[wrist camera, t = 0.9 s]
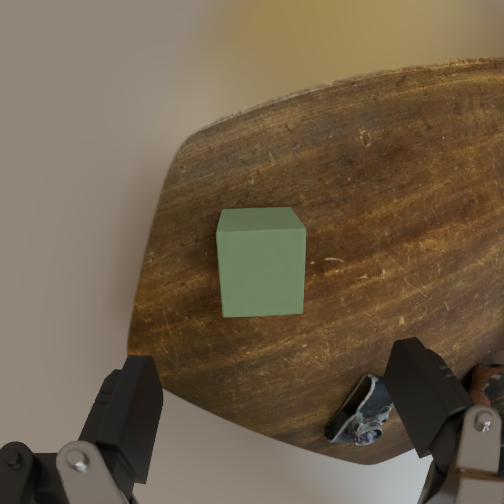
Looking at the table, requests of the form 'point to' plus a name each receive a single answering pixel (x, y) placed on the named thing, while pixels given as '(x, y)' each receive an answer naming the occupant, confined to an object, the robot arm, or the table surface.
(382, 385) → the camera
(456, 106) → the table surface
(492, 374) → the decorative turtle
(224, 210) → the green box
